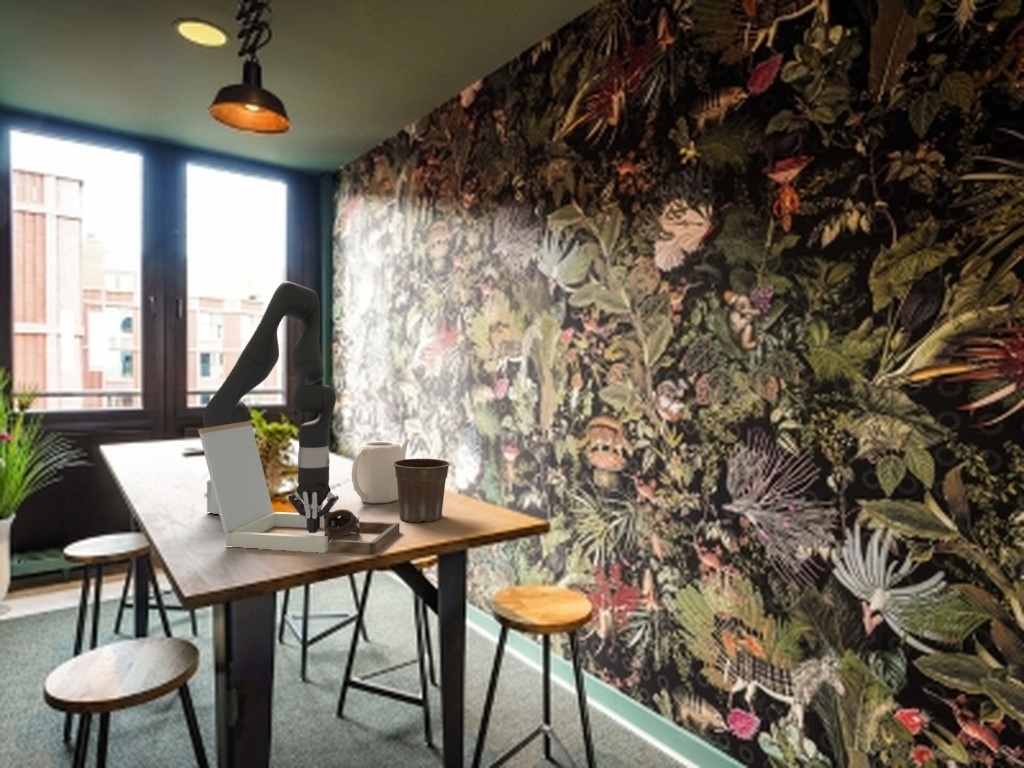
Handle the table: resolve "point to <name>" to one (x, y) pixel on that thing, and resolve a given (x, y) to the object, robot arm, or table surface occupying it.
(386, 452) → the watering can
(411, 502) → the plant pot
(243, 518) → the cold frame
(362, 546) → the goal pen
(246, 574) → the table surface
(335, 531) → the pottery mug
